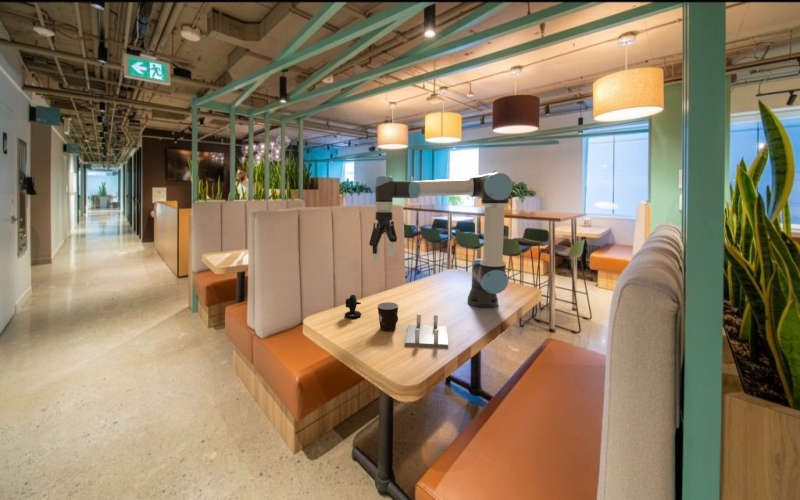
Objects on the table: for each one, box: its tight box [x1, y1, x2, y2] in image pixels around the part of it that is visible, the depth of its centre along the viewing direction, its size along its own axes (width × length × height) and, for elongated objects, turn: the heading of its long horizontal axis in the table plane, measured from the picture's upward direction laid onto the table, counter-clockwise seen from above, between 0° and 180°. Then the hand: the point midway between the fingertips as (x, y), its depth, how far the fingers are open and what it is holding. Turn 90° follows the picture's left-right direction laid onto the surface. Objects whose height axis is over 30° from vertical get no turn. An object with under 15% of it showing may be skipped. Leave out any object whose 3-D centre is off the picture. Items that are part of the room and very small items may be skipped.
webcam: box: [344, 294, 362, 320], centre depth 155 cm, size 8×8×10 cm
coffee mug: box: [377, 301, 399, 333], centre depth 140 cm, size 12×9×10 cm
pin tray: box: [404, 313, 449, 349], centre depth 134 cm, size 16×17×6 cm
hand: (383, 258), depth 155 cm, fingers open, 13 cm apart
